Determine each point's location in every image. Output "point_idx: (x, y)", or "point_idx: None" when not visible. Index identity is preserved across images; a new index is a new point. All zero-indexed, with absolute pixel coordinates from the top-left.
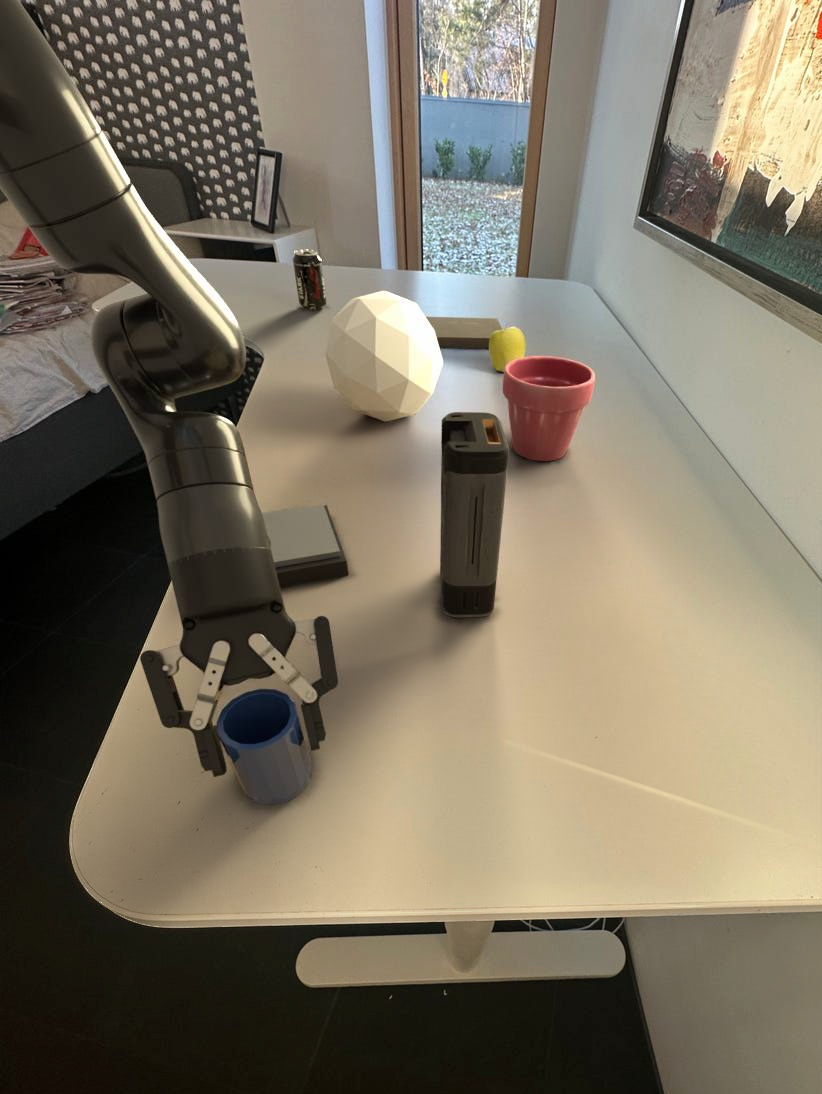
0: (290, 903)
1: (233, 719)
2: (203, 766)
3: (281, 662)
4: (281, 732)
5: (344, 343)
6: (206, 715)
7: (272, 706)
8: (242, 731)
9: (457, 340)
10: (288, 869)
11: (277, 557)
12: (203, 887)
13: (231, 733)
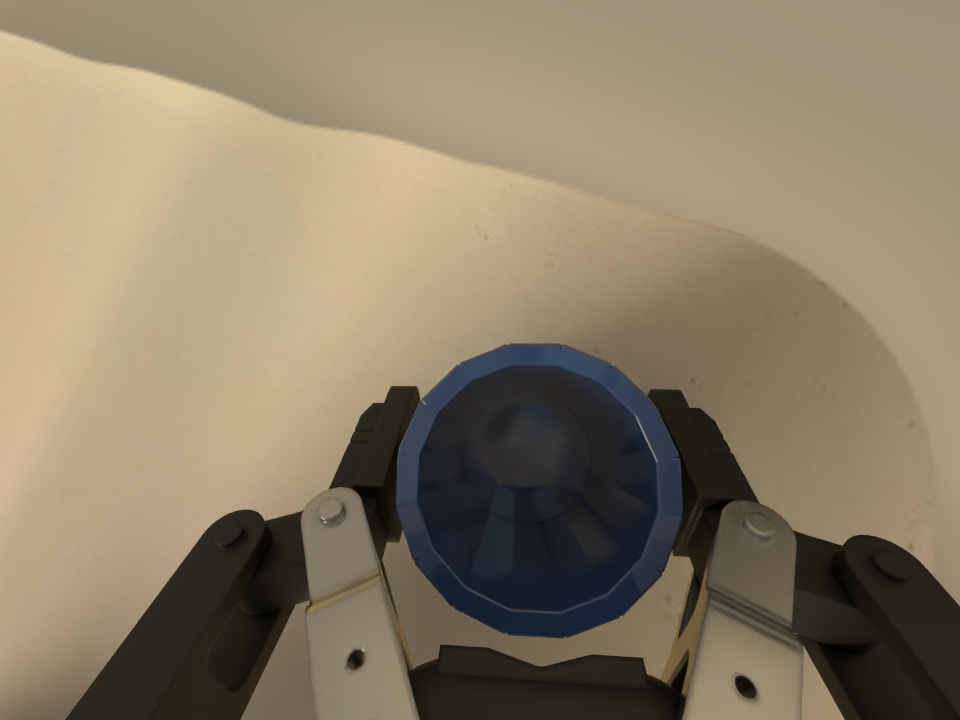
0: (537, 191)
1: (618, 546)
2: (708, 418)
3: (344, 692)
4: (462, 383)
5: None
6: (729, 543)
7: (486, 565)
8: (591, 534)
9: None
10: (532, 247)
11: None
12: (680, 261)
13: (625, 506)
